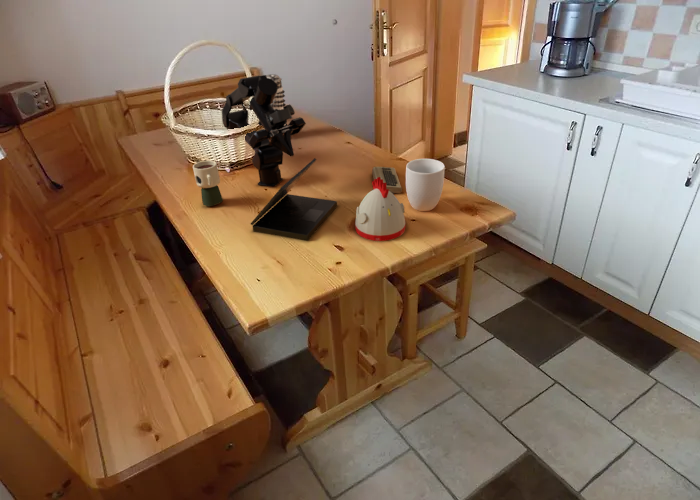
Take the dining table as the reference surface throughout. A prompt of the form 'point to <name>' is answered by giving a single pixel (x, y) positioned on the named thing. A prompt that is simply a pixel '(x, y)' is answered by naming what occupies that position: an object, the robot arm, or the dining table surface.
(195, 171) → the character mug
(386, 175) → the computer
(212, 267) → the dining table surface
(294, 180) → the laptop screen
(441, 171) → the mug
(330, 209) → the laptop
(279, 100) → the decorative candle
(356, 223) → the kitchen timer
